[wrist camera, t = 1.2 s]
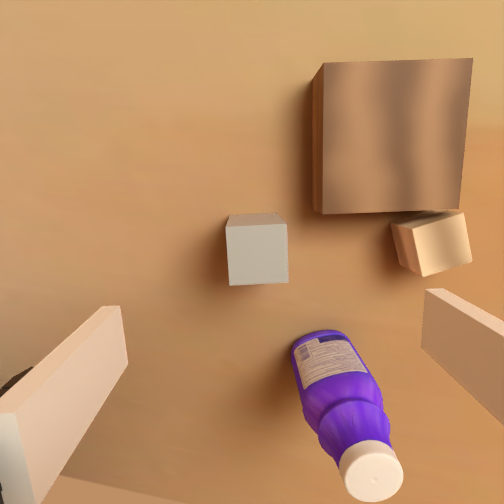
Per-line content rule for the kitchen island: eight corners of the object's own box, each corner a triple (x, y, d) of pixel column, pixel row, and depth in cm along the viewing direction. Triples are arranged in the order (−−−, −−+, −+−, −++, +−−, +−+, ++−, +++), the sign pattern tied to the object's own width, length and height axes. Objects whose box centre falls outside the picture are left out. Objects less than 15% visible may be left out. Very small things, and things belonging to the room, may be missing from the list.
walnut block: (311, 209, 36) (322, 214, 31) (311, 80, 33) (323, 63, 28) (429, 205, 36) (458, 208, 31) (439, 75, 33) (473, 58, 29)
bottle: (295, 378, 40) (334, 525, 23) (282, 337, 39) (313, 460, 22) (353, 361, 40) (436, 498, 23) (342, 319, 38) (421, 430, 22)
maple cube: (399, 264, 37) (422, 277, 32) (389, 222, 36) (412, 229, 31) (442, 250, 37) (472, 261, 32) (433, 208, 36) (463, 212, 31)
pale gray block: (232, 260, 37) (229, 285, 28) (229, 215, 36) (225, 226, 27) (277, 257, 37) (288, 282, 28) (276, 212, 36) (286, 223, 27)
